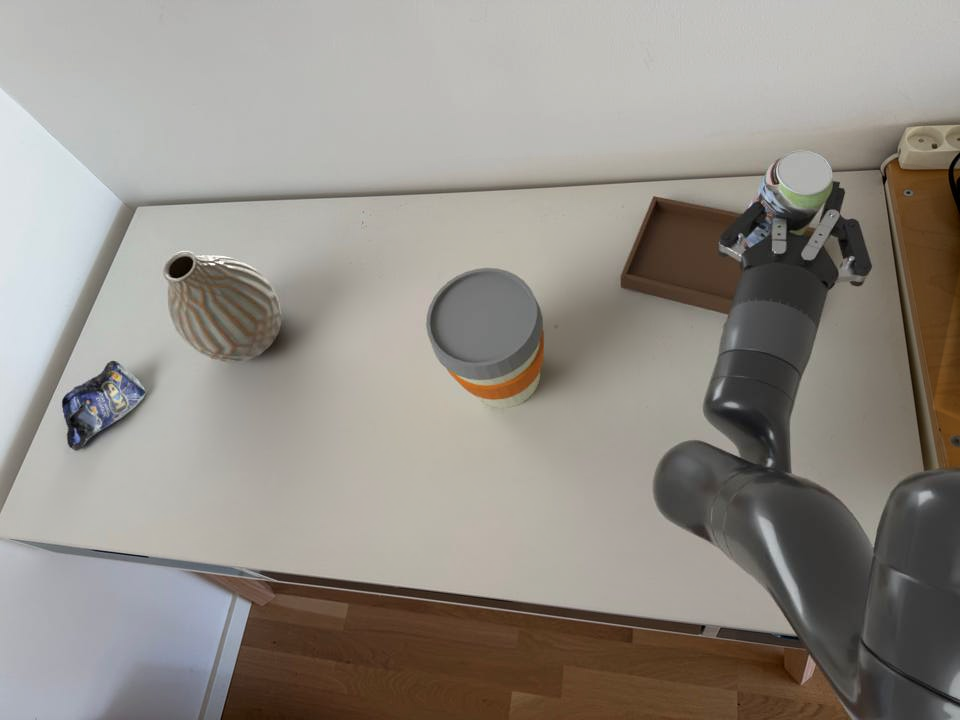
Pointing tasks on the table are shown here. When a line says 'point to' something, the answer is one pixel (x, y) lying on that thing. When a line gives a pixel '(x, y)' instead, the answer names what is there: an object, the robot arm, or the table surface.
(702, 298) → the serving tray
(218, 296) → the vase
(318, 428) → the table surface
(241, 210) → the table surface
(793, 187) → the beverage can
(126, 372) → the snack package
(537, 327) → the reusable coffee cup
